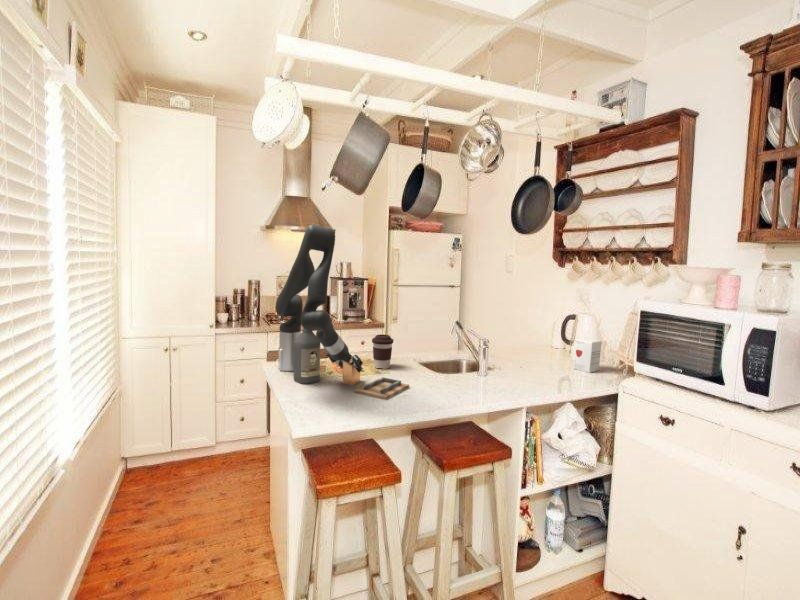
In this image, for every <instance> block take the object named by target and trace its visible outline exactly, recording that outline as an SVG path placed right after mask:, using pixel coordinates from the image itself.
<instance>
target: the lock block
mask: <svg viewBox="0 0 800 600" xmlns="http://www.w3.org/2000/svg"><path fill="white" fill-rule="evenodd" d="M359 358H360V360H361V361H362V359H361V357H359ZM351 362H352V359H351V360H350V363H351ZM354 364H355V363H354ZM355 365H356V364H355ZM360 382H361V372H358V371H357V370H356V368H355V367H354V366H350V365H348V364H347V363H344V362H343V369H342V383H343V384H345V385H350V386H352V385H355V384H357V383H360Z"/></svg>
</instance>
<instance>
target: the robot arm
mask: <svg viewBox="0 0 800 600" xmlns="http://www.w3.org/2000/svg"><path fill="white" fill-rule="evenodd" d="M335 245H336V233H335V230H334V229H333V228H330V227H325V226H322V225H321V226H320V225H316V224H310V225H308V226H307V227H306V229H305V231H304V234H303V238H302V241H301V244H300V247H299V250H298V253H297V255H296V258H295V260H294V262H293V265H292V267H291V269H290V272H289V275H288V276H287V279H286V282H285V283H284V285H283V287H282V290H281V291H280V292H279V295H278V297H277V299H276V302H275V312H276V314H277V315H278V316H281V317H290V318H289V319H288V320H287V321H285V322H282V323H281V324H280V325H279V333H278V335H279V336H278V337H279V340H278V341H279V342H278V344H279V345H278V346H279V347H278V370H279V371H280V372H281V371H282V372H294V342H295V340H296V339H297V337H298V336H299V335H300V334H301V333H302V329H303V328H304V329H305V330H313V331H316V332H315V335H316V336H317V338H318V340H319V341H320V345H322V347H323V348H324V350H325V351H326V356H327V357H328V359H329V361H331V363H333V364H334V363H335V364H336V365H338V366H339V368H340V369H342V370H343V362H344V363H347V364H348V365H350V366H354V367H355V368H356V370H357V371H358V372H360V373H361V372H362V370H363V367H362V365H363V361H362V359H361V360H360V358H361V357H359V356H358V354H354V355H352V354H351V353H349V352H350V351H349V346H348V345H347V344H346V342H345V341H344V340H343V338H342V337H341V336H340V335H339V333H338V332H337V331H336V330H335V328H334V326H333V322H332V318H331V315H330V313H328V311H326V310H323V309H318V307H321V306H323V305H325V304H326V303H327V300H328V285H329V284H328V282H329V275H330V271H331V266H332V261H333V254H334V250H335ZM311 251H317V252H323V256H322V259H321V261H320V263H319V265H318V266H317V267H316V269H315V265H314V263H313V260H312V258H311V256H310V252H311ZM306 289H307V295H306V296H307V298H306V301H305V304H304V307H303V298H302V297H301V296H300V295H299V294H300V293H301V292H303V291H304V290H306ZM303 308H304V309H303ZM317 309H318V310H317ZM351 359H352V362H351V363H350V360H351ZM354 363H355V364H356V365H355V364H354Z"/></svg>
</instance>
